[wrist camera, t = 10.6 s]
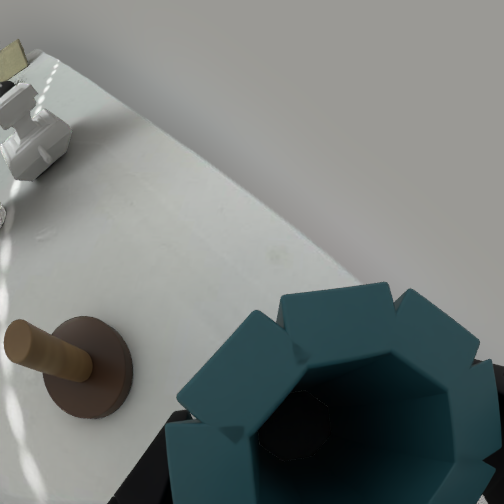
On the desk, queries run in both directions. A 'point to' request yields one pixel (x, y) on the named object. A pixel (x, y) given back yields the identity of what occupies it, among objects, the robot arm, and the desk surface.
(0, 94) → the computer mouse
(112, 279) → the desk surface
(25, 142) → the stamp
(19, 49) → the tissue box
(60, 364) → the dowel stand
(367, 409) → the sleeve
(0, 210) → the cup
